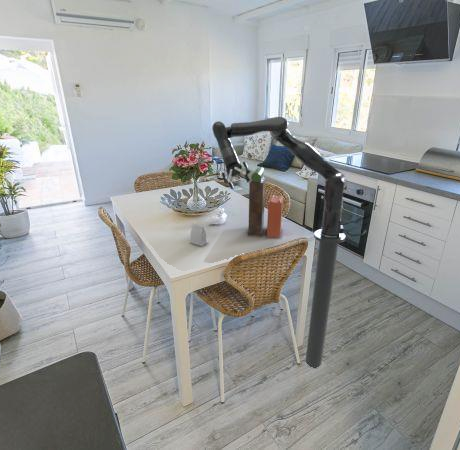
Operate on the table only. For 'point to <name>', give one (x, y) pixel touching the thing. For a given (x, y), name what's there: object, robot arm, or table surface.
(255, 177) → the bottle
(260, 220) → the post
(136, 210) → the table surface
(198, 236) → the grey tapered block
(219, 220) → the bust
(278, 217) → the bottle holder
